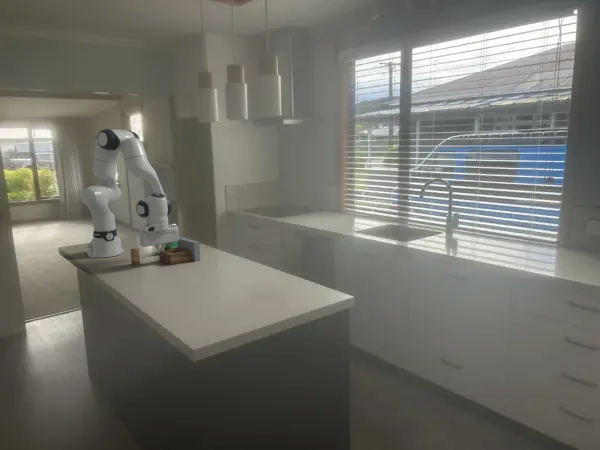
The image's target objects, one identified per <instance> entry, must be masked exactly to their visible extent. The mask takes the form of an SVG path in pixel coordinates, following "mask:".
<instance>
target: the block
mask: <svg viewBox="0 0 600 450" xmlns="http://www.w3.org/2000/svg"><path fill="white" fill-rule="evenodd" d="M158 256H159V261H160V262H163V263H164V264H168V265H170V266H173V265H177V264H183V263H186V262H192V251H190V250H187V249H183V248H174V249H169V250H164V252H162V253H158Z"/></svg>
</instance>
